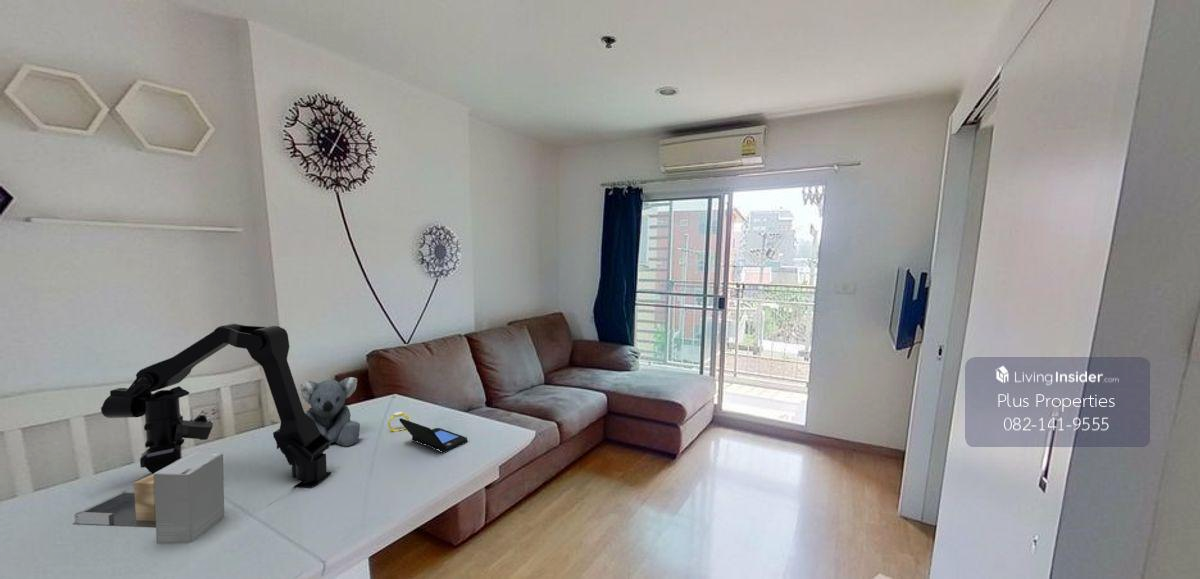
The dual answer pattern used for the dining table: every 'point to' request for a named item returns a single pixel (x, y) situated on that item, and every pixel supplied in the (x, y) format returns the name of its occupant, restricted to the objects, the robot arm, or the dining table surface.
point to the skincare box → (189, 497)
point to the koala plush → (332, 409)
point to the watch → (397, 416)
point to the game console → (433, 436)
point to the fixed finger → (145, 499)
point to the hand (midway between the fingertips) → (166, 478)
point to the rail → (113, 513)
